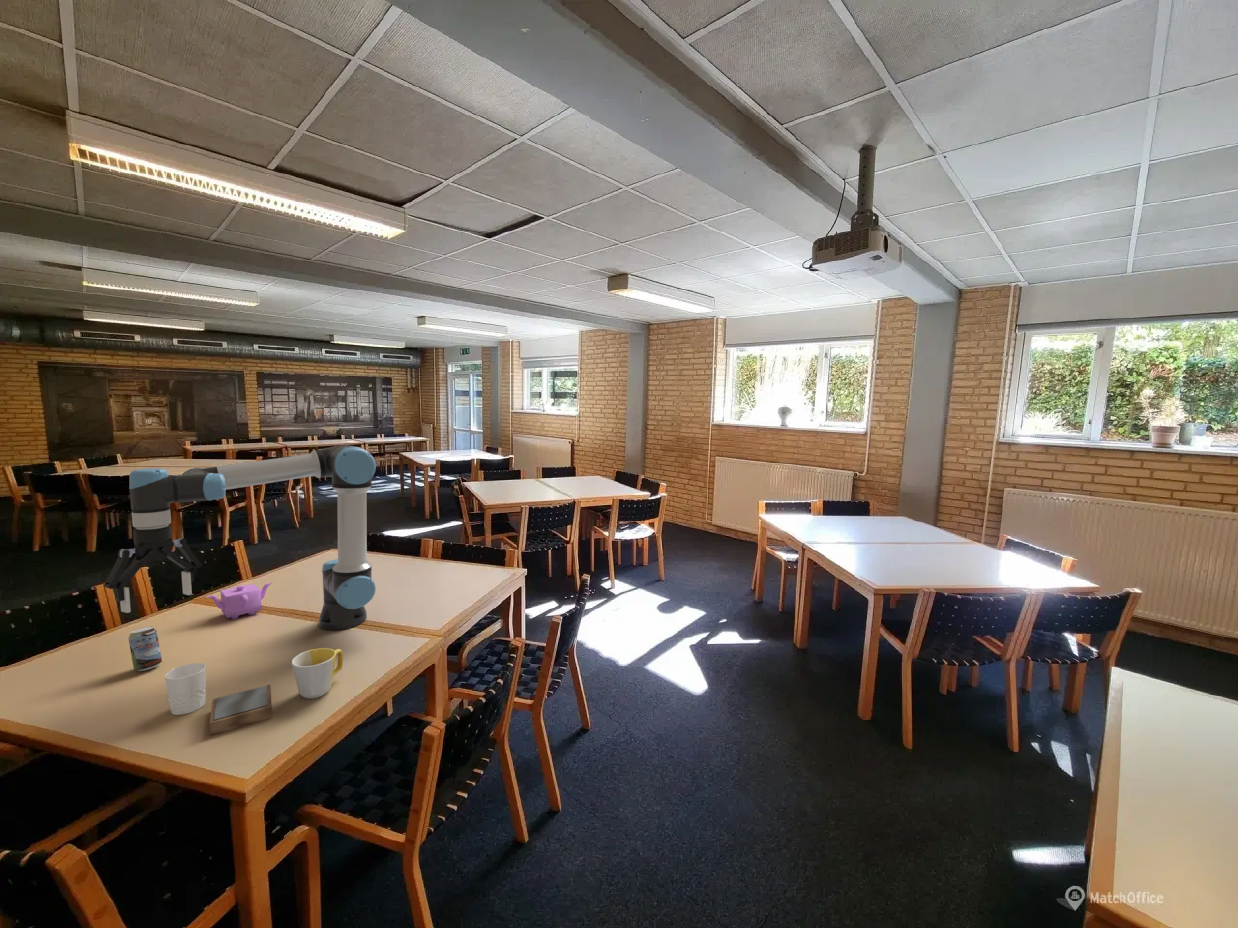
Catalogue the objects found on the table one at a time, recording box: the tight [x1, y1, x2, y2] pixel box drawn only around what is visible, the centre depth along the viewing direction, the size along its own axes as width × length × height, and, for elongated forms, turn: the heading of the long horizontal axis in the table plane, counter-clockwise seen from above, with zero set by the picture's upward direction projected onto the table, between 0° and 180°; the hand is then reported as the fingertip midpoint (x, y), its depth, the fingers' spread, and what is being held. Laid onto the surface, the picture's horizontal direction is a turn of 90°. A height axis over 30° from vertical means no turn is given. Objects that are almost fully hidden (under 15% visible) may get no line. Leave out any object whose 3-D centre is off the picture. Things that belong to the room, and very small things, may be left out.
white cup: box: [164, 662, 207, 716], centre depth 126 cm, size 8×8×10 cm
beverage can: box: [128, 625, 163, 672], centre depth 144 cm, size 6×7×12 cm
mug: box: [291, 647, 344, 700], centre depth 135 cm, size 14×10×10 cm
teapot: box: [205, 582, 273, 621], centre depth 182 cm, size 15×13×11 cm
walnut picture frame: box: [209, 684, 273, 736], centre depth 124 cm, size 12×12×3 cm
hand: (158, 602), depth 134 cm, fingers open, 13 cm apart
